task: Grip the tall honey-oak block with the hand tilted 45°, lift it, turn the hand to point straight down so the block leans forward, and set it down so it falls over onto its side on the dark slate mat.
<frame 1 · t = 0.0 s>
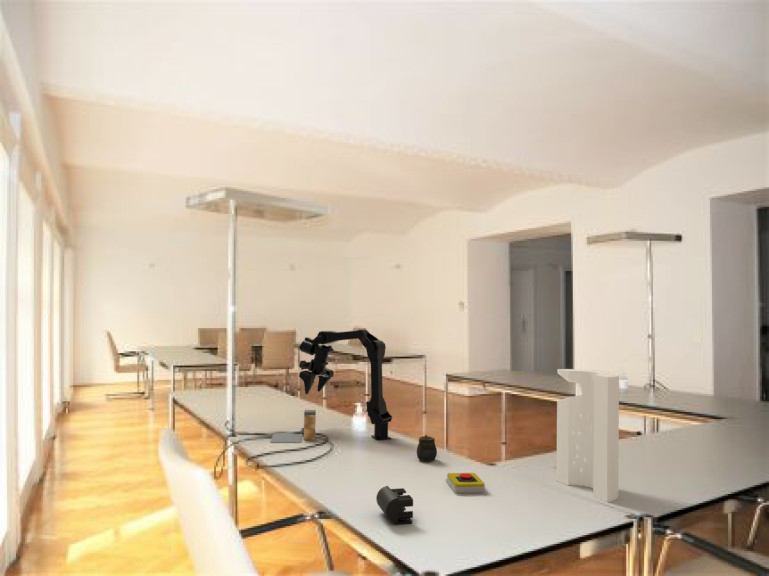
hand: (312, 392, 246), 15 cm above the table, tool pointing down, fingers open, 9 cm apart
white notched upright: (592, 489, 169), on the table
slate mat: (286, 438, 225), on the table
dark lidded jar: (426, 461, 197), on the table
emergency button: (464, 489, 168), on the table
end cap: (394, 519, 142), on the table
oak block: (309, 438, 226), on the table
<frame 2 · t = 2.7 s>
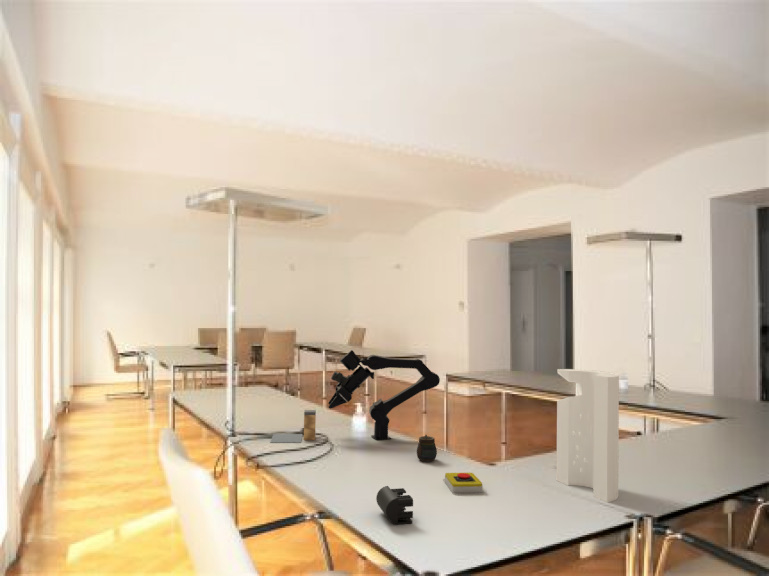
hand: (329, 405, 227), 13 cm above the table, tool tilted 45°, fingers open, 9 cm apart
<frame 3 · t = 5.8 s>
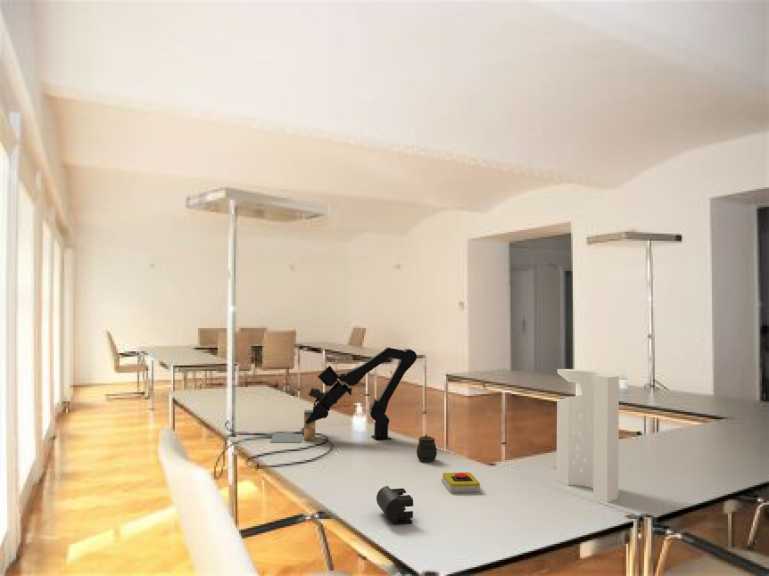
hand: (306, 421, 226), 7 cm above the table, tool tilted 45°, fingers closed on oak block, 4 cm apart
oak block: (309, 438, 226), on the table, touching gripper
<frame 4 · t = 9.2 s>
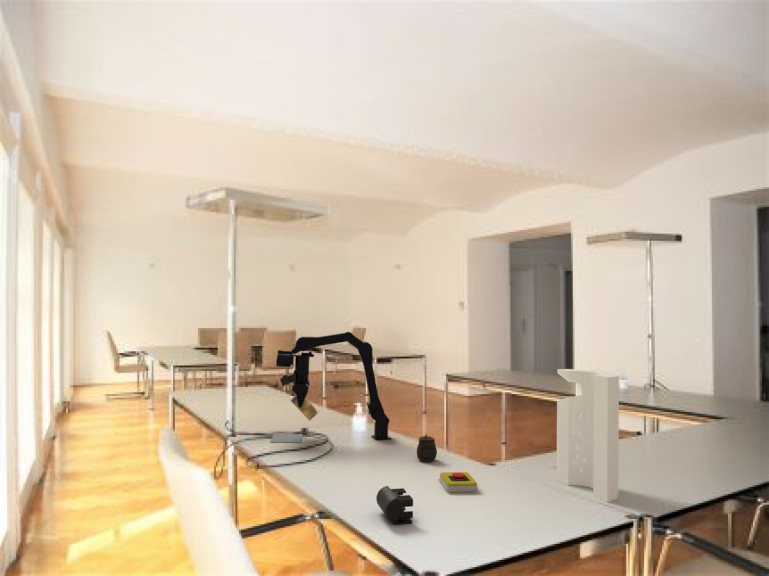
hand: (300, 406, 226), 13 cm above the table, tool pointing down, fingers closed on oak block, 4 cm apart
oak block: (313, 415, 226), point 9 cm above the table, tilted 44°, touching gripper
when the fingers open (7 cm above the table, at t = 11.5 s): oak block moves 2 cm and tips over, resting on slate mat.
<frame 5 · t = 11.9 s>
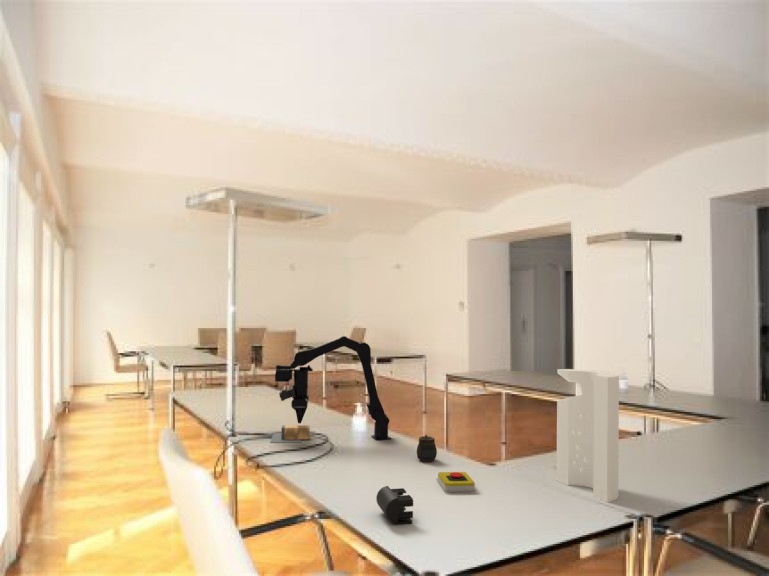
hand: (299, 421, 226), 7 cm above the table, tool pointing down, fingers open, 9 cm apart
oak block: (309, 432, 226), point 2 cm above the table, tilted 90°, touching slate mat
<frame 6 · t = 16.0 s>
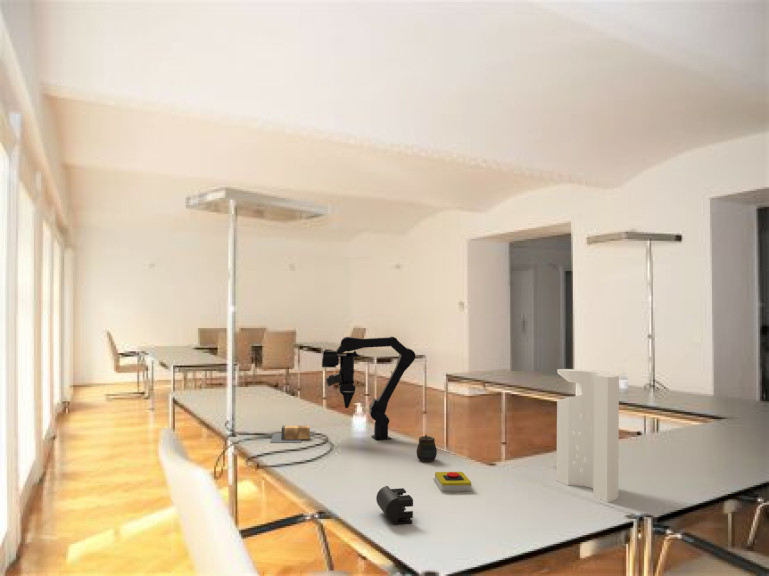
hand: (346, 406, 228), 13 cm above the table, tool pointing down, fingers open, 9 cm apart
at the end: oak block tilted 90°; oak block touching slate mat; the gripper is holding nothing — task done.
